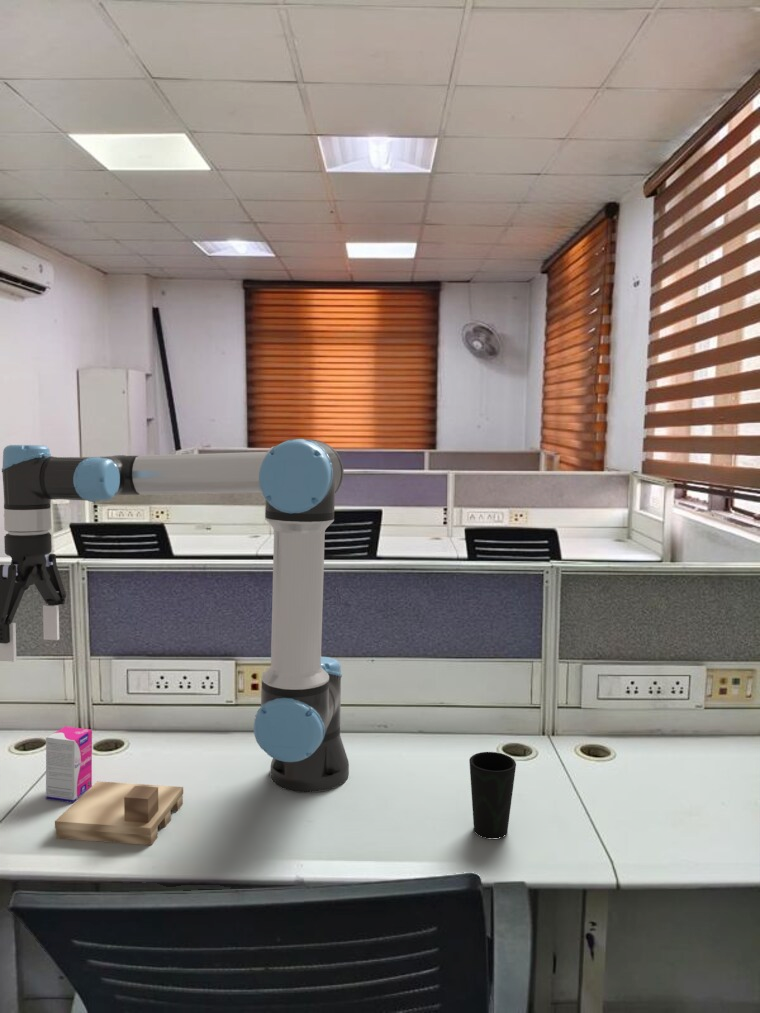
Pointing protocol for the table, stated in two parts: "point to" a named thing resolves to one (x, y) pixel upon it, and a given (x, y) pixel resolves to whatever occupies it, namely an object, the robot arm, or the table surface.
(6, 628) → the robot arm
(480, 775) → the cup
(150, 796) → the brown wooden cube
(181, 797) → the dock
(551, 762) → the table surface
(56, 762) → the supplement box
